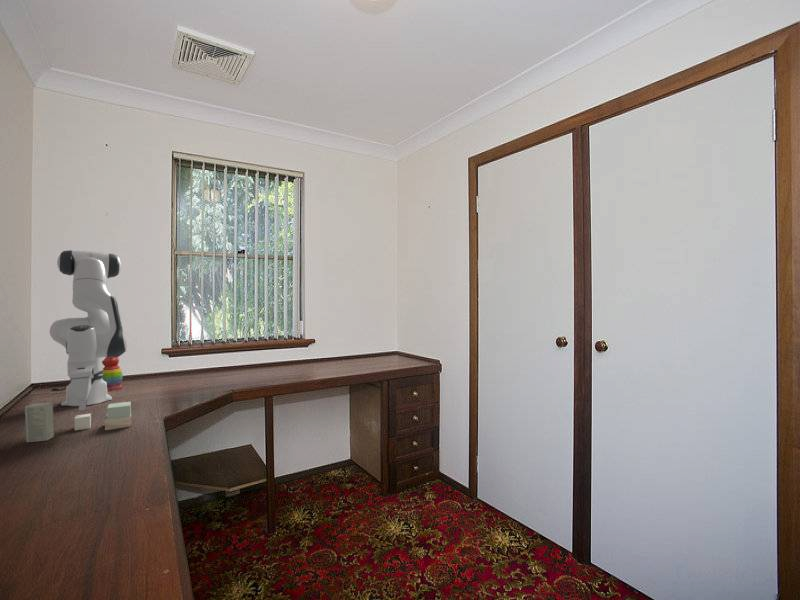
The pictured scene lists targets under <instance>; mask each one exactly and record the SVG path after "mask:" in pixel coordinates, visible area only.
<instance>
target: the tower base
mask: <svg viewBox="0 0 800 600" xmlns="http://www.w3.org/2000/svg"><path fill="white" fill-rule="evenodd" d="M129 427H132V414H131V415H130V416H128V417H120V418H112V419H107V414H106V415H105V418H104V431H108V430H115V429H116V430H117V429H122V428H129Z"/></svg>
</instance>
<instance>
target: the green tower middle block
mask: <svg viewBox="0 0 800 600" xmlns="http://www.w3.org/2000/svg"><path fill="white" fill-rule="evenodd" d="M131 402H132V401H123V402H115V403H108V405H107V409H106V410H107V411H106V412H107V414H106V415H107V419H112V418H120V417H128V416H130V415H131V416H132V403H131Z"/></svg>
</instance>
